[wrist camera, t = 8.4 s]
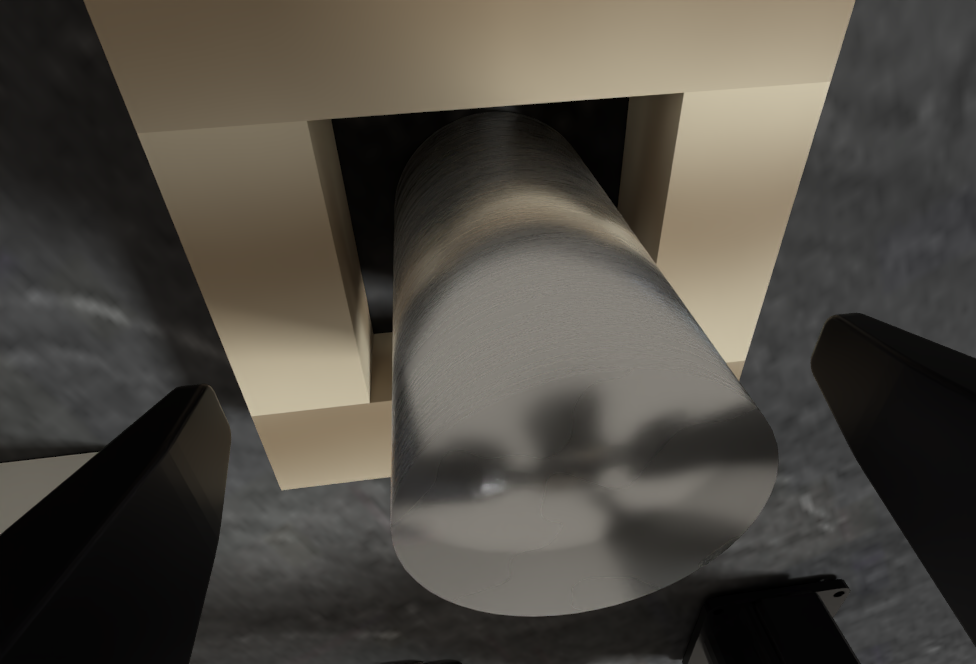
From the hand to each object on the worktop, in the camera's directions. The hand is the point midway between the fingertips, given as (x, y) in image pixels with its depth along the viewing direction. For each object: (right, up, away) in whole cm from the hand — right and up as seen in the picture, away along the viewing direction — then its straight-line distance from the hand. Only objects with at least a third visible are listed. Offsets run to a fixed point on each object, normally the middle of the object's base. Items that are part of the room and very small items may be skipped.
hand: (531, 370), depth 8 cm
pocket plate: (-1, +3, +4) cm, 6 cm away
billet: (-1, +3, +4) cm, 6 cm away
